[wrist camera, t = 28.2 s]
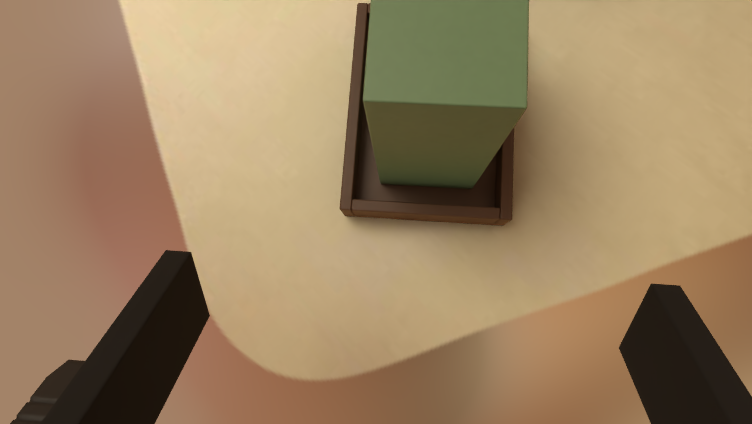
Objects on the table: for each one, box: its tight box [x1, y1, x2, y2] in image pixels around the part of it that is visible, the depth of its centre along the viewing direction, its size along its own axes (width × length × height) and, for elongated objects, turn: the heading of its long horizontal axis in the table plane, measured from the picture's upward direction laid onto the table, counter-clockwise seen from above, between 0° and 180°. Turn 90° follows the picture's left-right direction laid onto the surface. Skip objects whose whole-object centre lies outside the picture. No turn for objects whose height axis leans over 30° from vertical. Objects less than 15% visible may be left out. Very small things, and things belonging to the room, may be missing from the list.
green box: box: [363, 0, 529, 189], centre depth 20 cm, size 5×8×11 cm, turn 176°
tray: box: [340, 3, 514, 225], centre depth 25 cm, size 9×12×2 cm
